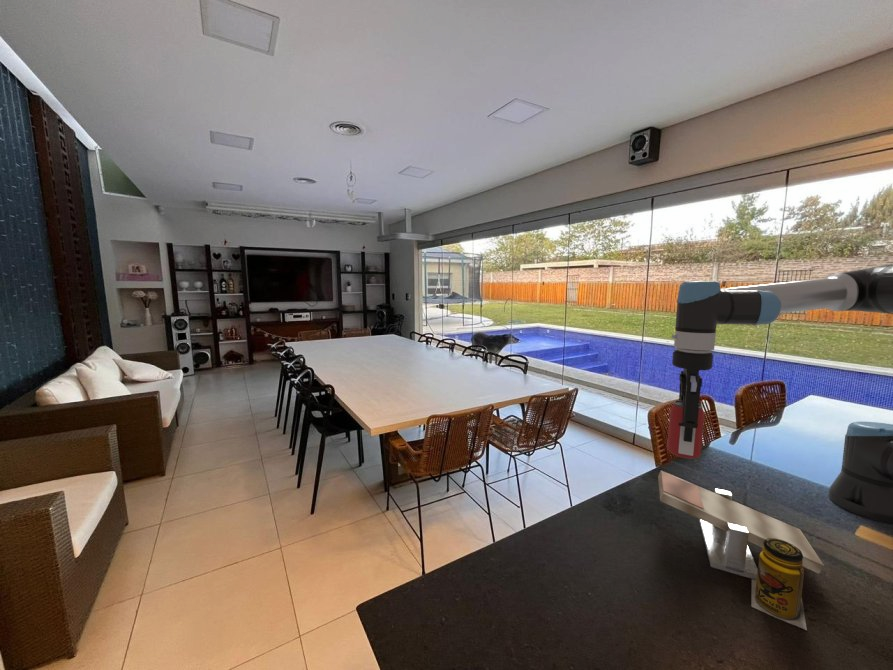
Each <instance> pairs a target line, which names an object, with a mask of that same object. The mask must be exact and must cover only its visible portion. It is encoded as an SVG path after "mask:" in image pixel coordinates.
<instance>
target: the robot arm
mask: <svg viewBox="0 0 893 670" xmlns="http://www.w3.org/2000/svg"><path fill="white" fill-rule="evenodd" d="M824 309H827V310H829V311H832V312H845V311H847V312H848V311H849V312H853V311H854V312H868V313H876V314H877V313H878V314H887V315H888V314H890V315H893V263H892V264H884V265H879V266H872V267H868V268H867V267H866V268H862V269H856V270H851V271H843V272H842V271H841V272H835V273H831V274H829V275H827V276H825V277H824V278H816V279H803V280H797V281H796V280H795V281H787V282H777V283H776V282H775V283H767V284H756V285H747V286H736V287H727V288H721V283H720V282H719V281H715V280H713V281H712V280H705V281H704V280H695V281H694V280H693V281H692V280H691V281H690V280H689V281H687V280H686V281H683V282H682V283H681V284H679V288H678V292H677V300H676V318H675V328H674V329H675V332H674V334H672V335H671V339H674V343H673V347H674V348H676V349H674V350H673V351H672V360H671V361H672V363H671V364H672V365H673V366H674V367H676V368H679V369H681V371H680V373H679V377H678V379H679V385H678V387H679V394H678V400H683V417H682V423H678V426H681V428H680V439H679V451H678V453H680V454H685V455H691V456H693V451H694V441H695V430H696V428H697V427H698V412H699V404H700V397H701V389H702V387H703V384H702V383H703V378H702V377H701V375H700V371H710V370H712V368H713V362H714V354H713V352H712V351H714V350H715V346H716V345H715V343H716V336H717V335H716V334H717V330H716V329H717V325H738V326H739V325H743V326H744V325H746V326H751V325H752V326H757V325H769V324H772V323H774V322H775V321H776V320H777V319H778V318H779V315H780V314H781V313H783V314H784V313H792V312H793V313H794V312H803V311H814V310H824ZM843 443H844V444H843V446H844V447H843V453H842V454H843V455H842V461H841V462H842V463H841V469H840V473H839V474H838V475H837V476H836V478H835V479H834V480H833V482H832V484H831V485H830V486H829V488H828V494H827V496H828V498H829V500H831V501H832V502H833V503H834V504H835V505H837V506H839V507H841V508H843V509H844V510H846V511H849V512H851V513H853V514H856V515H858V516H862V517H863V518H867V519H871V520H873V521H877V522H881V523H885V524H891V525H893V423H892V424H891V423H885V422H877V421H876V422H874V421H853V422H851V423H850V424H848V426H847V431H846V433H845V435H844V442H843Z"/></svg>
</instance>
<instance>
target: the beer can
mask: <svg viewBox="0 0 893 670" xmlns="http://www.w3.org/2000/svg"><path fill="white" fill-rule="evenodd" d="M682 417H683V400H679V399H678V400H674V401H673V404H672V406H671V408H670V410H669V419H668V420H669V421H668V431H667V433H668V435H667V442H666V443H667V444H666V448H667V451H668V452H669V453H671V454H672V455H674V456H676V457H678V458H683V459H689V460H692V459H693V460H694V459H698V458H700V457H701V453H702V443H703V432H704V423H705V412H704V409H703V405H702V404H700V403H699V412H698V427H697V428H696V430H695V441H694V451H693V456H691V455H685V454H680V453H678V451H679V439H680V428H681V426H678V423H682Z"/></svg>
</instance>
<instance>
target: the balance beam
mask: <svg viewBox="0 0 893 670" xmlns="http://www.w3.org/2000/svg"><path fill="white" fill-rule="evenodd" d="M657 481H658V490H659V500H660V502H661V503H664V504H665V505H668V506H670V507H673V508H675V509H677V510H679V511H682V512H683V513H686V514H687V515H690V516H692V517H694V518H697V519H698V520H700V519H701V520H703V521H705V522H707V523H709V524H712V525H714V526H716V527H718V528H720V529H723V530H725V531H727V527H728V523H731V524H735V525H739V526H743V527H746V528H747V530H748V533H749V534H748V542H749V543H751V544H753V545H756V546H758V547H760V548H762V549H763V546H764V541H765V539H768V538H775V539H780V540H783V541H786V542H788V543H791V544H792V545H794V546H796V547H797V548H798V549H800V551H801V552H802V554H803V560H802V562H803V564H802V566H803V568H804V569H808V570H810V571H813V572H814V573H816V574H821V571H822V570H823V568H824V567H825V564H824V562H822V560H821V558H820V557H819V555H818V554H817V552H816V551H815V549H814V548H813V547H812V545H811V543H810V542H809V541H808V539H807V538H806V536H805V534H804V533H803V532H802V530H801V529H800V528H798V527H795V526H793V525H791V524H789V523H787V522H786V523H785V522H784V521H781V520H779V519H776V518H774V517H772V516H769V515H767V514H765V513H763V512H760V511H758V510H755V509H752V508H751V507H748V506H746V505H743V504H741V503H739V502H737V501H734V500H733V499H732V500H730V499H727V498H725V497H723V496H720V495H718V494H716V493H715V492H714V491H711V490H709V489H706V488H704V487H701V486H700V485H696V484H695V483H692V482H689V481H688V480H686V479H682V478H680V477H678V476H675V475H673V474H672V473H669V472H666V471H663V470H662V469H661V470H660V472H659V473H658V476H657Z"/></svg>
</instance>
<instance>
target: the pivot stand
mask: <svg viewBox="0 0 893 670" xmlns="http://www.w3.org/2000/svg"><path fill="white" fill-rule="evenodd" d="M714 493H716V494H718V495H720V496H723V497H725V498H727V499H730V500H732V501H733V494H732V492H731V491H729V490H725V489H720V488H714ZM698 520H699V526H700V529H701V533H702V538H703V541H704V545H705V549H706V553H707V557H708V561H709V565H710V567H711V568H714V569H718V570H720V571H724V572H726V573H731V574H734V575H737V576H741V577H746V578H748V579H750V580H752V579H753V580H755V581H757V573H758V567H757V565H756V563H755V560H754V557H753V555H752V552H751V550H750V548H749V546H748V544H749V543H748V542H749V541H748V534H749V533H748V530H747V528H746V527H743V526H739V525H735V524H731V523H728V527H727V531H725V530H723V529H720V528H718V527H716V526H714V525H712V524H709V523H707V522H705V521H703V520H701V519H698Z"/></svg>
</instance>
